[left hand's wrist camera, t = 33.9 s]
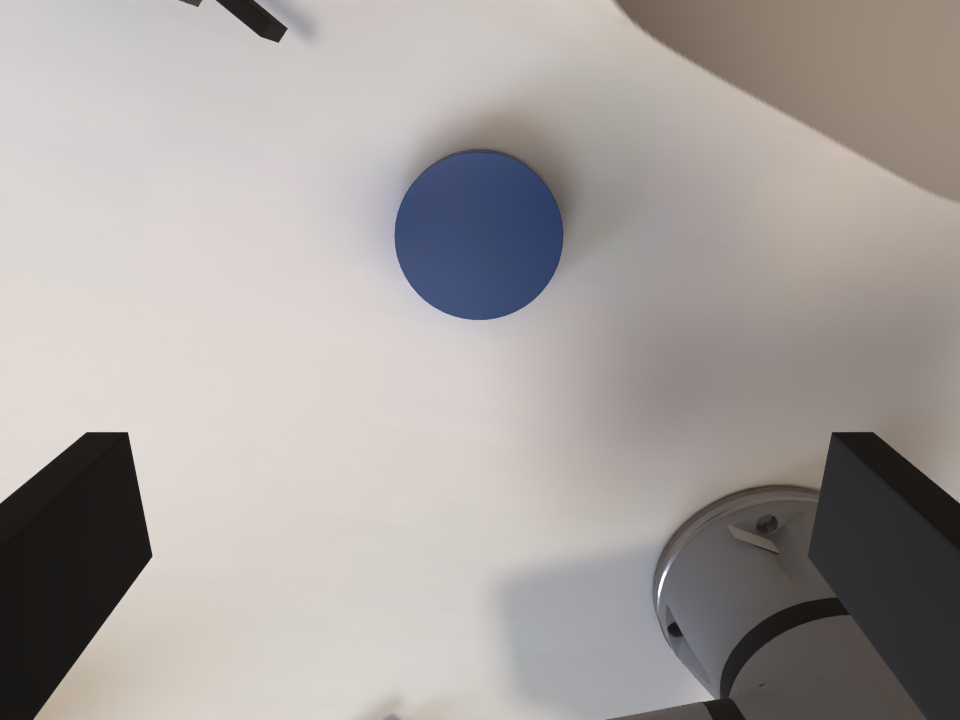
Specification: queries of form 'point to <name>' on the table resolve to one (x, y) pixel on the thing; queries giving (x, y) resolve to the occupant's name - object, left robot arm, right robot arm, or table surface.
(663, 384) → the table surface
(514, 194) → the lid
